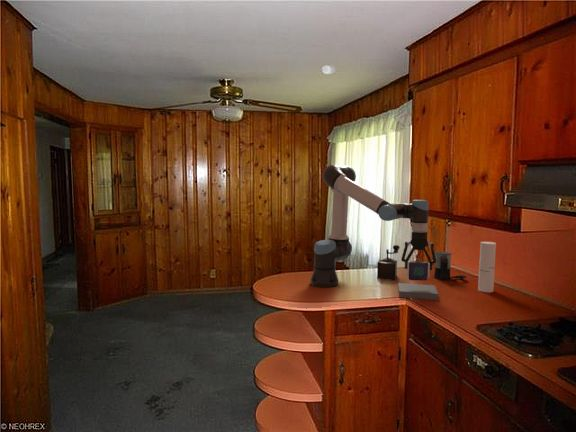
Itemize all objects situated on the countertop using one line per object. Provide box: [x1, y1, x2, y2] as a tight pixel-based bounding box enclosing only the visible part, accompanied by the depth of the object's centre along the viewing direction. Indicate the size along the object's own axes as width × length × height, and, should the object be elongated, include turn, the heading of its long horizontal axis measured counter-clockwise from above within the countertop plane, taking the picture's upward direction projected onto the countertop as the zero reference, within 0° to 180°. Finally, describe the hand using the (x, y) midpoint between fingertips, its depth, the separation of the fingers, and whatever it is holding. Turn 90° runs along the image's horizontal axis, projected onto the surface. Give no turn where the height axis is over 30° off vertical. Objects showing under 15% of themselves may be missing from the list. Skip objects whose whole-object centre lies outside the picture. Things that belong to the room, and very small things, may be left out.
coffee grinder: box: [376, 244, 401, 281], centre depth 237 cm, size 16×11×18 cm
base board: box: [397, 282, 439, 301], centre depth 203 cm, size 18×15×3 cm
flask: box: [408, 258, 429, 281], centre depth 201 cm, size 9×3×11 cm, turn 88°
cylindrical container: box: [477, 241, 497, 293], centre depth 208 cm, size 7×7×25 cm
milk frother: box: [433, 251, 467, 281], centre depth 232 cm, size 14×16×15 cm
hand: (418, 275), depth 202 cm, fingers closed on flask, 9 cm apart
